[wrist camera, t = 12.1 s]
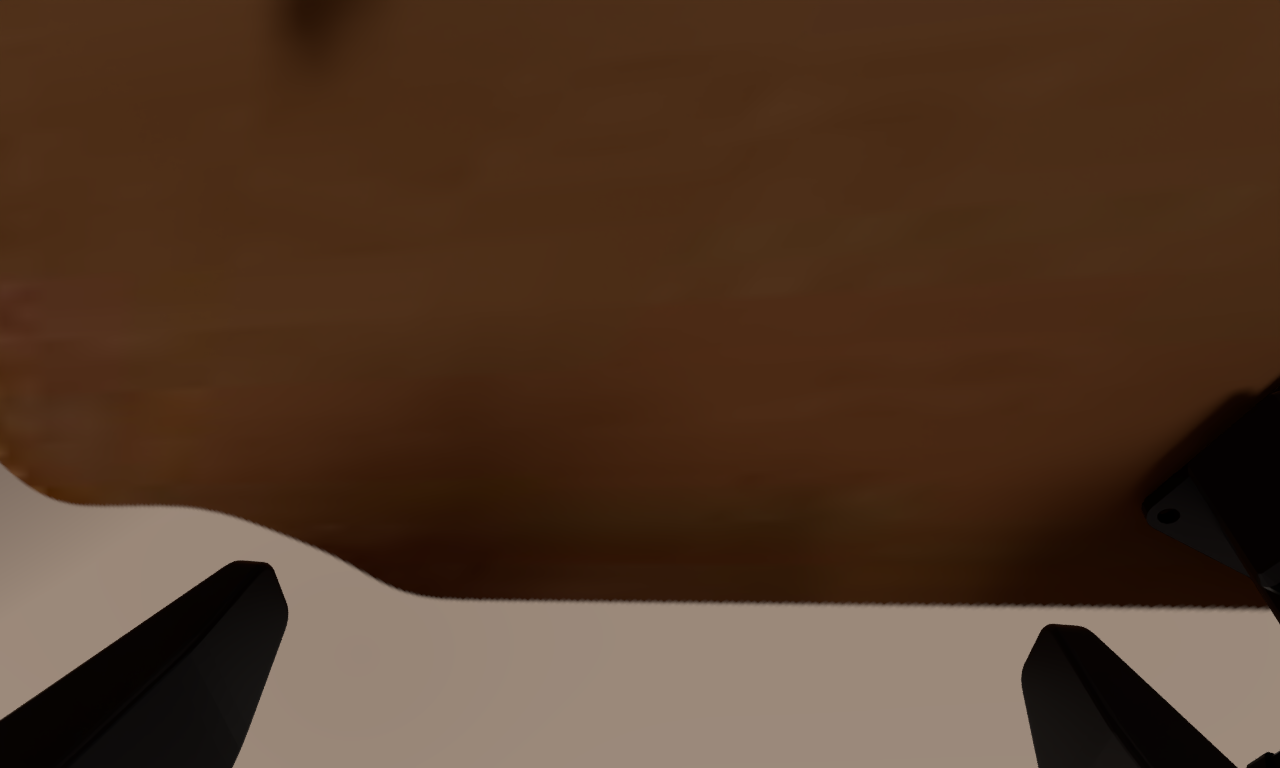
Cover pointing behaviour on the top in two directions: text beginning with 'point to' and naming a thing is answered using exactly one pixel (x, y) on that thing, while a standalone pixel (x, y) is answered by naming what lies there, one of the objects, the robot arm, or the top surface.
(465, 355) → the top surface
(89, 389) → the top surface
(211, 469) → the top surface
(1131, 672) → the robot arm
